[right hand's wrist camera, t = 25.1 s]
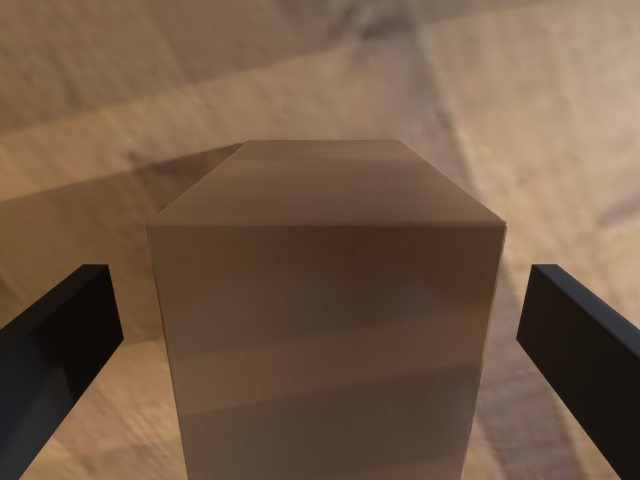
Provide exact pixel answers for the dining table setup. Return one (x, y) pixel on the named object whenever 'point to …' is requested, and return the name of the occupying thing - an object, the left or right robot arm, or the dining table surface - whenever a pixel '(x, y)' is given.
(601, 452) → the right robot arm
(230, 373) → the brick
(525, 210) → the dining table surface
